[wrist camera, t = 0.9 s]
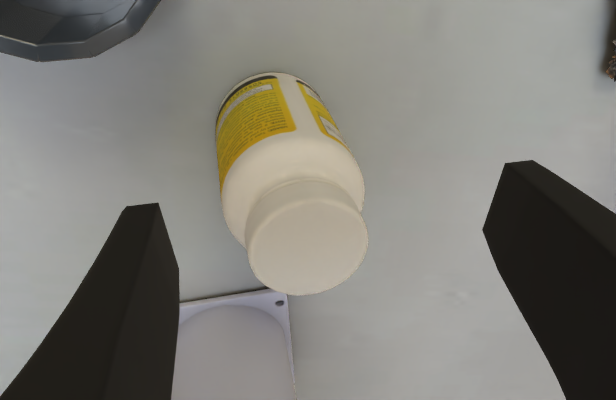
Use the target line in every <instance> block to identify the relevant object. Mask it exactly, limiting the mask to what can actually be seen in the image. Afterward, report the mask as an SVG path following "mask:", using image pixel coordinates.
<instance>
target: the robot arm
mask: <svg viewBox="0 0 616 400" xmlns="http://www.w3.org/2000/svg"><path fill="white" fill-rule="evenodd" d="M482 230H483V233H484V235H485V238H486V241H487V244H488V246H489V249H490V252H491V254H492V257H493V259H494V262H495V264H496V266H497V269H498V271H499V273H500V275H501V277H502V279H503V281H504V282H505V284H506V286H507V288H508V290H509V292H510V293H511V295H512V297H513V299H514V301H515V302H516V304H517V306H518V308H519V310H520V311H521V313H522V315H523V317H524V318H525V320H526V322H527V324H528V326H529V327H530V329H531V331H532V333H533V335H534V336H535V338H536V340H537V342H538V343H539V345H540V347H541V349H542V351H543V352H544V354H545V356H546V358H547V359H548V361H549V363H550V365H551V367H552V369H553V371H554V373H555V375H556V377H557V379H558V381H559V384H560V386H561V388H562V391H563V393H564V395H565V398H566V400H616V214H615V213H613V212H612V211H610V210H609V209H607V208H606V207H604V206H603V205H601V204H600V203H598V202H597V201H595V200H594V199H592V198H591V197H589V196H588V195H586V194H585V193H583V192H582V191H580V190H579V189H577V188H576V187H574V186H573V185H571V184H570V183H568V182H567V181H565V180H563V179H562V178H560V177H559V176H557V175H556V174H554V173H553V172H551V171H550V170H548V169H546V168H545V167H543V166H541V165H540V164H538V163H536V162H535V161H533V160H529V161H520V162H512V163H505V165H504V168H503V171H502V174H501V177H500V180H499V183H498V186H497V189H496V191H495V194H494V197H493V200H492V203H491V206H490V209H489V212H488V215H487V218H486V221H485V224H484V227H483V229H482ZM279 300H282V301H280V302H277V301H279ZM294 385H295V379H294V368H293V356H292V344H291V333H290V321H289V310H288V298H287V294H283V293H280V292H277V291H275V290H272V289H265V290H259V291H253V292H246V293H240V294H234V295H228V296H222V297H215V298H209V299H203V300H197V301H191V302H185V303H179V268H178V264H177V261H176V258H175V255H174V252H173V248H172V245H171V242H170V239H169V236H168V232H167V229H166V226H165V223H164V220H163V216H162V213H161V210H160V207H159V203H152V204H143V205H134V206H127V207H126V208H125V209H124V210H123V211H122V213H121V215H120V216H119V218H118V220H117V222H116V224H115V226H114V228H113V230H112V231H111V233H110V235H109V237H108V239H107V240H106V242H105V244H104V246H103V248H102V249H101V251H100V253H99V255H98V256H97V258H96V260H95V261H94V263H93V265H92V267H91V268H90V270H89V271H88V273H87V275H86V276H85V278H84V279H83V281H82V283H81V284H80V286H79V288H78V289H77V291H76V292H75V294H74V296H73V297H72V299H71V300H70V302H69V303H68V305H67V307H66V308H65V309H64V311H63V312H62V314H61V315H60V317H59V318H58V320H57V321H56V323H55V324H54V325H53V327H52V328H51V330H50V331H49V333H48V334H47V336H46V337H45V338H44V340H43V341H42V343H41V344H40V346H39V347H38V348H37V350H36V351H35V352H34V354H33V355H32V356H31V358H30V359H29V360H28V362H27V363H26V365H25V366H24V367H23V368H22V370H21V371H20V372H19V374H18V375H17V376H16V378H15V379H14V380H13V381H12V382H11V384H10V385H9V386H8V387H7V389H6V390H5V391H4V392H3V394H2V395H1V396H0V400H297V398H296V393H295V388H294Z"/></svg>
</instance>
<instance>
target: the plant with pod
mask: <svg viewBox="0 0 616 400" xmlns="http://www.w3.org/2000/svg"><path fill="white" fill-rule="evenodd" d="M613 43H614V44H615V45H616V40H613ZM613 51H614V52H616V48H615V49H614V50H613ZM613 58H616V55H615V56H614V57H613ZM609 63H610V67H609V68H608V69H607V71H606V73H607V74H608V75H609V76H610V78H611V79H613V78H614V82H615V81H616V59H614V60H612V61H610V62H609Z"/></svg>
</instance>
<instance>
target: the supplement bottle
mask: <svg viewBox="0 0 616 400" xmlns="http://www.w3.org/2000/svg"><path fill="white" fill-rule="evenodd" d="M216 147H217V158H218V169H219V180H220V192H221V203H222V209H223V214H224V218H225V221H226V223H227V226H228V228H229V230H230V232H231V233H232V234H233V236H234V237H235V238H236V239H237V240H238V242H239V243H241V244H242V245H243V246H244V247H245V248H246V249H247V254H248V259H249V264H250V267H251V269H252V271H253V273H254V275H255V276H256V277H257V278H258V279H259V280H260V281H261V282H262V283H263V284H264V285H265V286H267V287H269V288H270V289H272V290H275V291H277V292H280V293H283V294H289V295H300V296H301V295H311V294H316V293H320V292H324V291H327V290H329V289H331V288H333V287H335V286H337V285H339V284H341V283H342V282H344V281H345V280H346V279H348V278H349V277H350V276H351V275H352V274H353V273H354V272H355V271H356V270H357V268H358V267H359V266H360V264H361V263H362V261H363V259H364V257H365V254H366V252H367V248H368V232H367V228H366V225H365V223H364V220H363V218H362V216H361V211H362V208H363V203H364V197H365V188H364V181H363V177H362V174H361V171H360V169H359V166H358V164H357V162H356V160H355V159H354V157H353V155H352V153H351V152H350V150H349V148H348V146H347V144H346V142H345V141H344V139H343V137H342V135H341V134H340V132H339V130H338V128H337V127H336V125H335V123H334V121H333V119H332V117H331V115H330V114H329V112H328V110H327V108H326V107H325V105H324V103H323V101H322V100H321V98H320V97H319V96H318V94H317V93H316V92H315V90H314V89H313V88H312V87H311V86H310V85H308V84H307V83H306V82H304V81H303V80H301V79H299V78H297V77H295V76H292V75H289V74H284V73H275V72H271V73H262V74H258V75H255V76H252V77H249V78H247V79H245V80H243V81H242V82H240V83H238V84H237V85H236V86H235V87H234V88H233V89H232V90H231V91H230V92H229V93H228V94H227V95H226V97H225V98H224V100H223V101H222V103H221V105H220V108H219V110H218V113H217V118H216Z"/></svg>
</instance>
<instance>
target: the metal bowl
mask: <svg viewBox="0 0 616 400" xmlns="http://www.w3.org/2000/svg"><path fill="white" fill-rule="evenodd" d="M160 1H161V0H0V52H1V53H5V54H9V55H13V56H17V57H21V58H25V59H28V60H32V61H36V62H39V61H40V62H50V61H61V60H72V59H82V58H92V57H96V56H97V55H99V54H101V53H103V52H105V51H106V50H108V49H110V48H112V47H114V46H116V45H117V44H119V43H121V42H123V41H125V40H126V39H128V38H130V37H132V36H134V35H136V33H138V32H139V31H140V29H141V28H142V27H143V25H144V24H145V22H146V21H147V20H148V18H149V17H150V15H151V14H152V13H153V11H154V10H155V8H156V7H157V6H158V4H159V3H160Z"/></svg>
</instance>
